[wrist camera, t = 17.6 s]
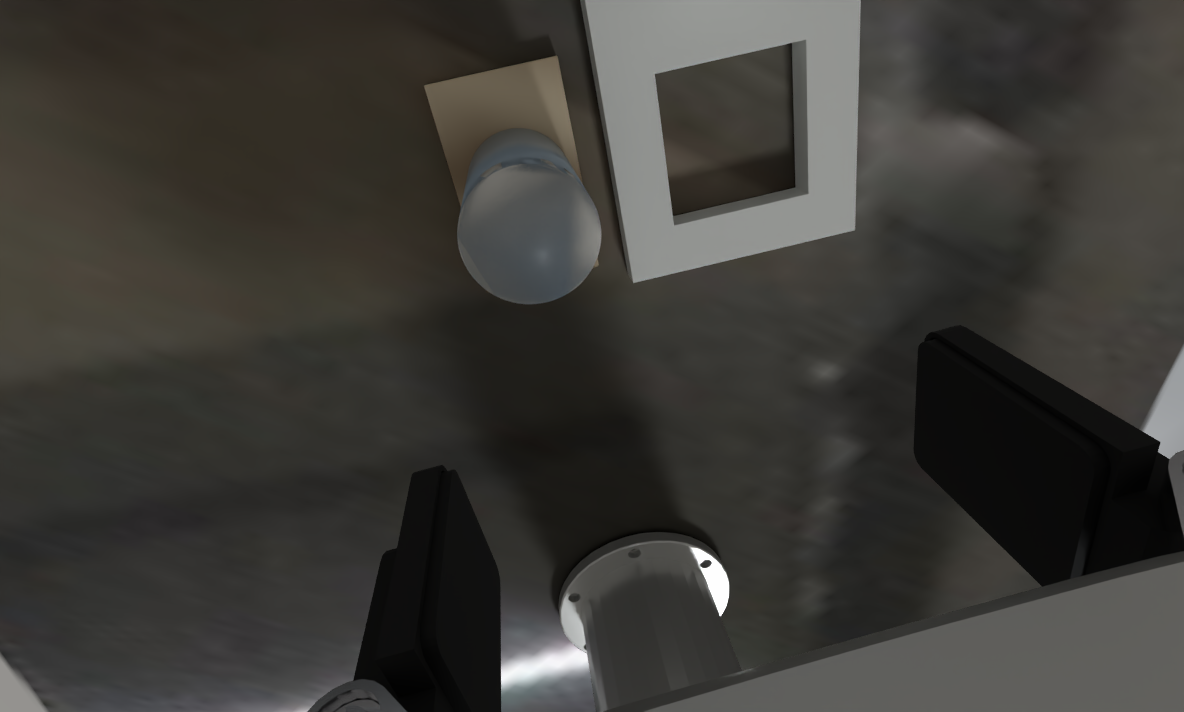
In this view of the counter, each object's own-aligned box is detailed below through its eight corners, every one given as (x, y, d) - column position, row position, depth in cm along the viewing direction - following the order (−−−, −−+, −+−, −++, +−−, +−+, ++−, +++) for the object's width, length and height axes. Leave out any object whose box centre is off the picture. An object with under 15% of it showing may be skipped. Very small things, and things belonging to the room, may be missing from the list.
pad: (597, 262, 32) (599, 265, 31) (486, 288, 32) (486, 292, 31) (555, 55, 27) (557, 55, 26) (425, 84, 27) (423, 85, 26)
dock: (840, 222, 33) (906, 257, 27) (627, 273, 32) (653, 318, 27) (847, -353, 22) (958, -474, 17) (530, -288, 22) (541, -392, 16)
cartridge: (581, 221, 30) (612, 286, 22) (484, 244, 30) (480, 318, 22) (560, 117, 28) (586, 148, 20) (454, 141, 27) (437, 182, 20)
